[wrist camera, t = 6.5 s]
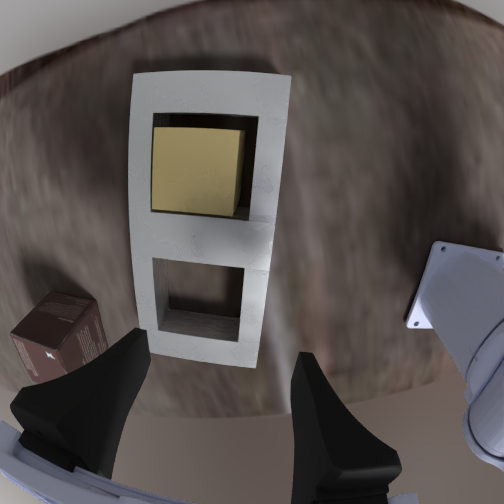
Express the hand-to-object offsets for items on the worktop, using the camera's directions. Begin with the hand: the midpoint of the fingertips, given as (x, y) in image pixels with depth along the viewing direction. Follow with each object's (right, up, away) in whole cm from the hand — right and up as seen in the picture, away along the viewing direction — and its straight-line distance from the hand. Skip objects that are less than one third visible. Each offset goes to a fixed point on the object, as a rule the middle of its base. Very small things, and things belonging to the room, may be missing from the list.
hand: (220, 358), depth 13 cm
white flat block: (-2, +7, +7) cm, 10 cm away
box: (-15, -2, +12) cm, 20 cm away
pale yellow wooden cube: (-1, +11, +6) cm, 12 cm away
